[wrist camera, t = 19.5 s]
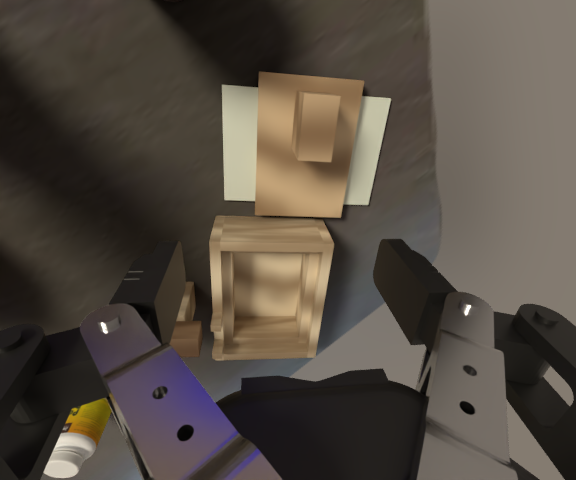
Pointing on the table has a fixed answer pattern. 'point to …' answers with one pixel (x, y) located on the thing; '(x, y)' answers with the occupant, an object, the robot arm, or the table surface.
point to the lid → (304, 143)
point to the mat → (243, 145)
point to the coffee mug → (172, 0)
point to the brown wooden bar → (187, 338)
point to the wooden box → (265, 286)
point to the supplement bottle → (78, 438)
